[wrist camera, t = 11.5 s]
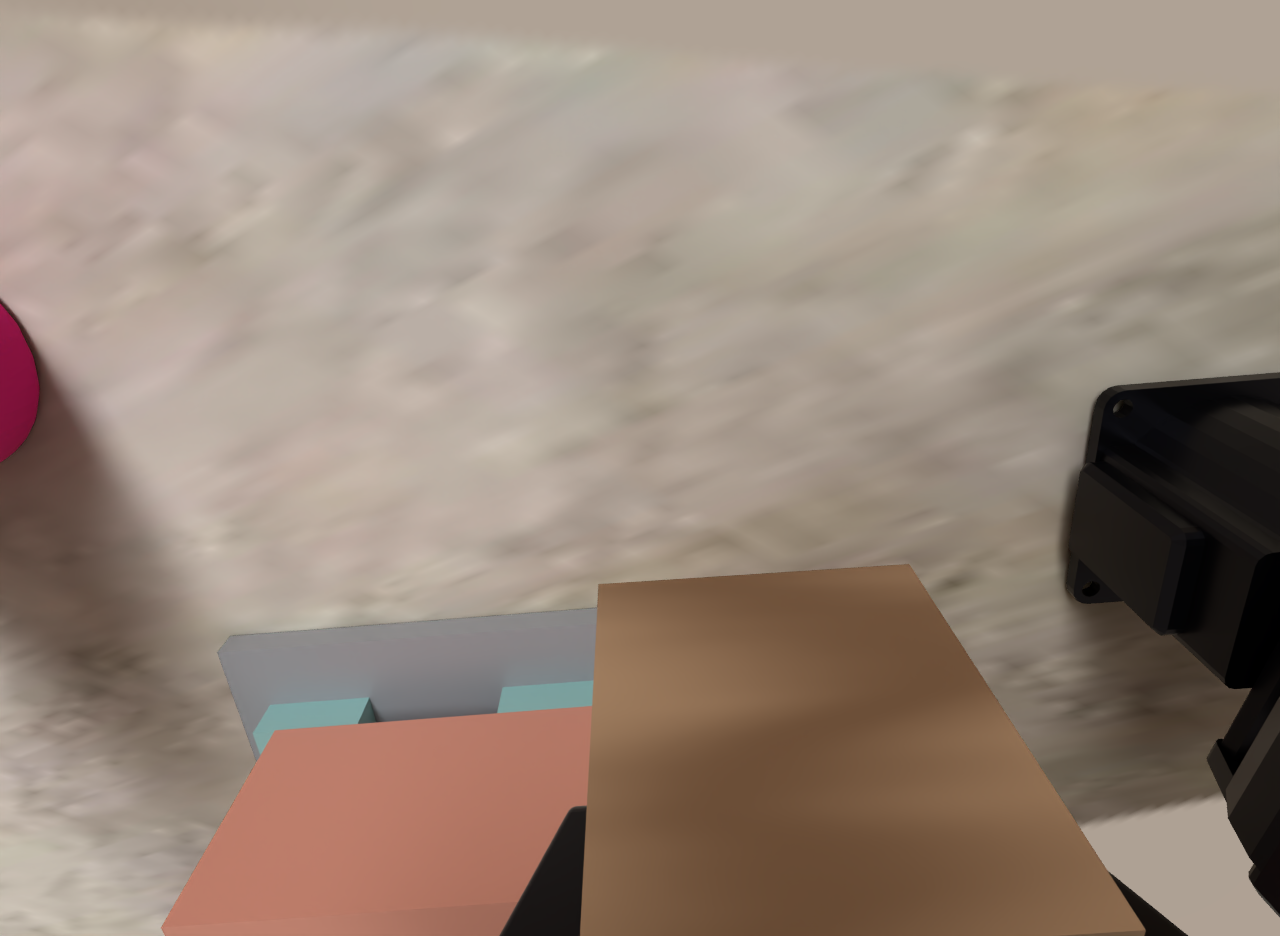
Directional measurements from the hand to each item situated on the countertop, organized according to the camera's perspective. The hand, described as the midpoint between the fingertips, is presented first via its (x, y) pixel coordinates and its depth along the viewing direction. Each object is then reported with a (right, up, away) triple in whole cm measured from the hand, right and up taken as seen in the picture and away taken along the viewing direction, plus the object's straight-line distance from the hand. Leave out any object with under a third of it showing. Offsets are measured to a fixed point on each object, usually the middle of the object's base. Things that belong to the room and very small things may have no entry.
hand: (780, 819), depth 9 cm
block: (0, +1, +2) cm, 2 cm away
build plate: (-8, -4, +16) cm, 18 cm away
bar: (-7, -5, +14) cm, 16 cm away
